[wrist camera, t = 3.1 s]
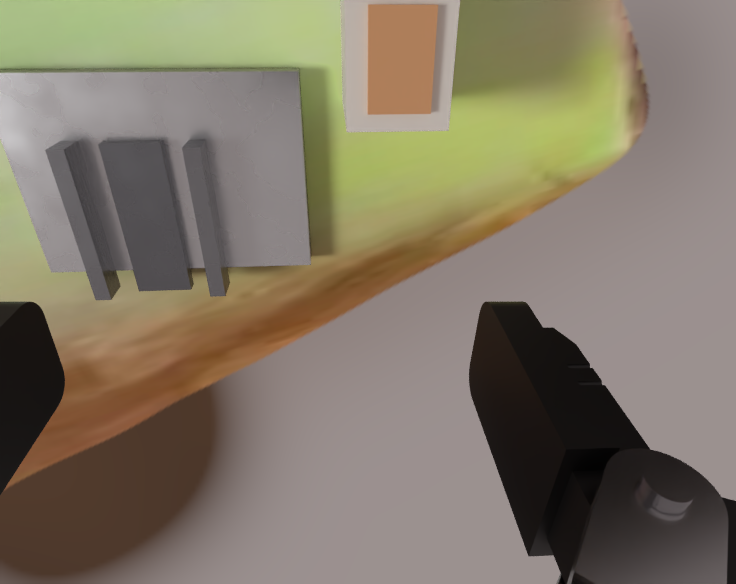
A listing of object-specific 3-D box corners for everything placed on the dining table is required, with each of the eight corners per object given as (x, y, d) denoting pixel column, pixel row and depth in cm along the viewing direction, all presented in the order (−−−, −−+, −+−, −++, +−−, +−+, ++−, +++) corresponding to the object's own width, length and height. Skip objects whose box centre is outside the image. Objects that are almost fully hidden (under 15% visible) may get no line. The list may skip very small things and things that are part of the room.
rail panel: (-12, 69, 23) (-45, 78, 21) (299, 67, 23) (296, 76, 21) (65, 279, 28) (45, 301, 26) (312, 271, 29) (310, 293, 27)
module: (339, -20, 22) (344, -20, 16) (430, -20, 22) (463, -20, 17) (342, 100, 24) (346, 133, 19) (423, 99, 25) (449, 132, 19)
